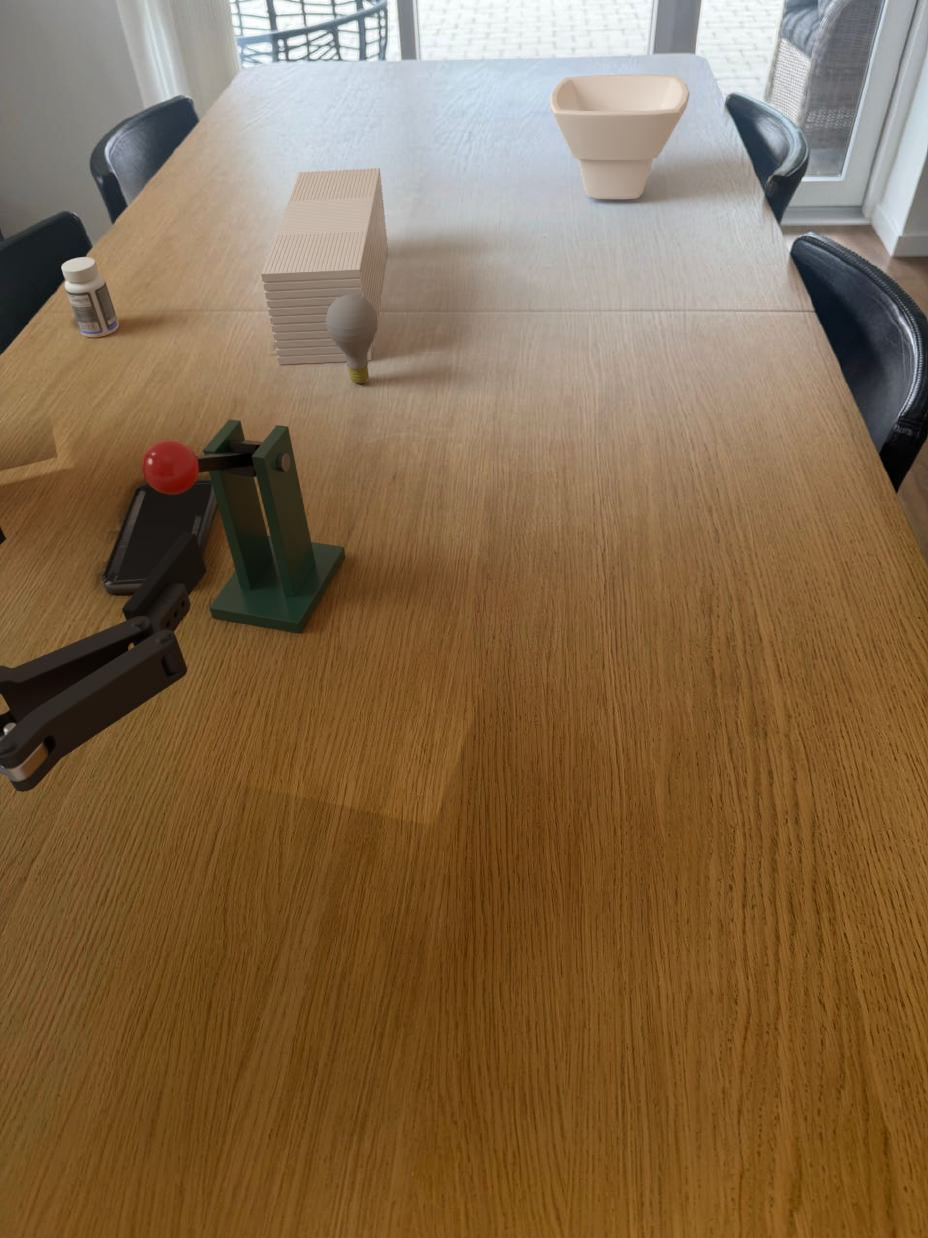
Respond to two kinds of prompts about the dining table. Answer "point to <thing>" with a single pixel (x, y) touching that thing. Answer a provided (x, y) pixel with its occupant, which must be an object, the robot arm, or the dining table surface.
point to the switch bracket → (269, 538)
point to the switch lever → (193, 464)
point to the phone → (156, 532)
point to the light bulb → (353, 332)
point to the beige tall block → (324, 259)
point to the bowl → (617, 127)
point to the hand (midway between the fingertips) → (91, 535)
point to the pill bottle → (89, 297)
